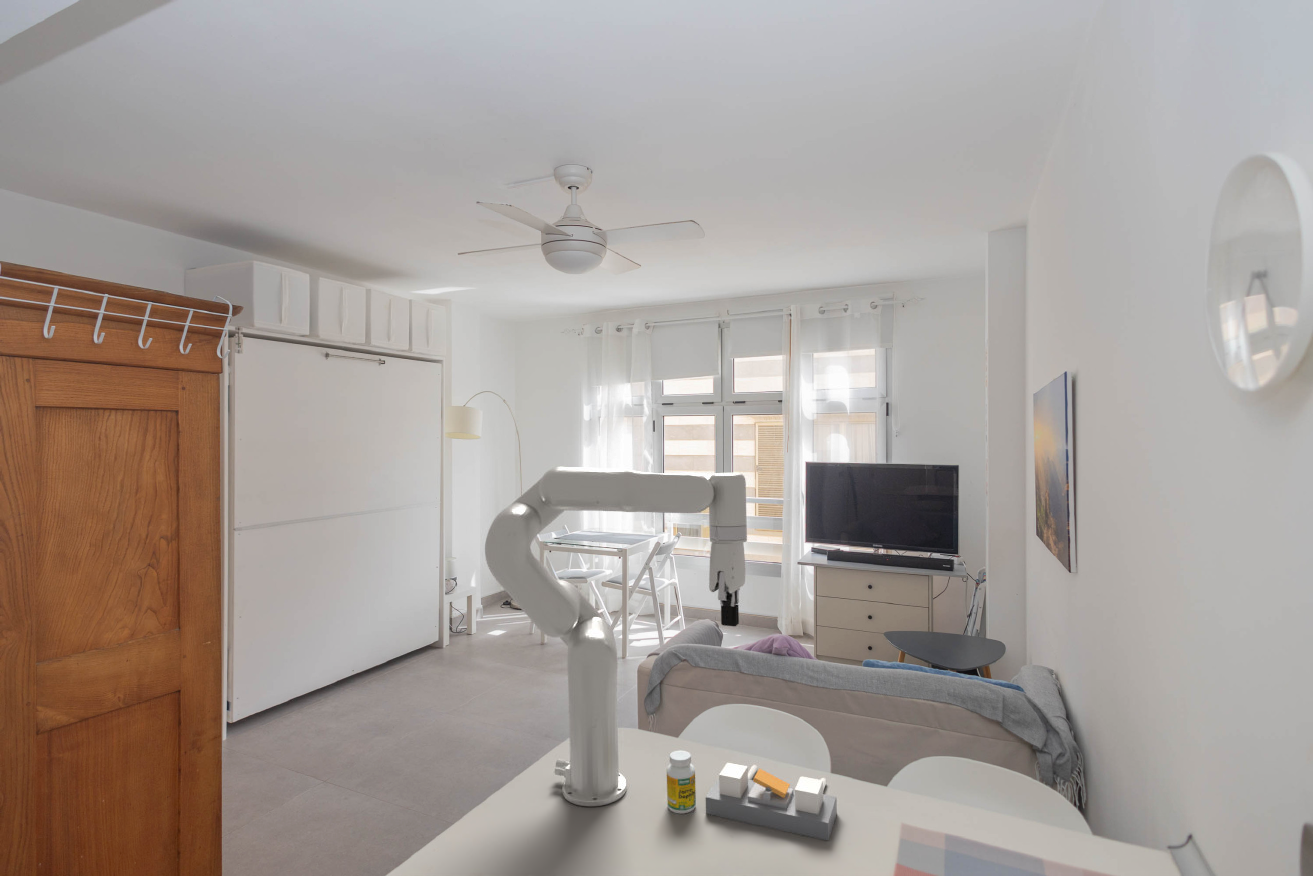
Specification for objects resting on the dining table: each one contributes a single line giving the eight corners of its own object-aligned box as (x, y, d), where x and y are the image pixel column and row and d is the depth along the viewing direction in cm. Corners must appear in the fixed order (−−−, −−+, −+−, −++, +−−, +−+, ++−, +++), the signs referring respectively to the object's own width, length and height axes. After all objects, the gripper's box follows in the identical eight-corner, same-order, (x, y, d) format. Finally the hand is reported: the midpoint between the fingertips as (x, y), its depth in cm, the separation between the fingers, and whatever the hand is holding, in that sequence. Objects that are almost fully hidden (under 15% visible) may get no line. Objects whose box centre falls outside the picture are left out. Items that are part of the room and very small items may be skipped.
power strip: (705, 813, 120) (705, 777, 120) (736, 766, 137) (736, 735, 137) (828, 841, 111) (827, 802, 111) (844, 786, 128) (844, 753, 128)
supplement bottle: (684, 796, 126) (683, 745, 126) (701, 808, 121) (700, 756, 122) (661, 804, 123) (660, 753, 123) (678, 818, 118) (677, 764, 119)
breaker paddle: (751, 784, 119) (753, 778, 119) (757, 774, 122) (759, 767, 122) (783, 801, 116) (785, 794, 116) (788, 790, 120) (790, 784, 120)
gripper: (722, 528, 141) (724, 614, 140) (697, 538, 127) (699, 633, 127) (756, 530, 138) (758, 617, 137) (734, 539, 124) (737, 636, 124)
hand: (730, 624), depth 132 cm, fingers closed
